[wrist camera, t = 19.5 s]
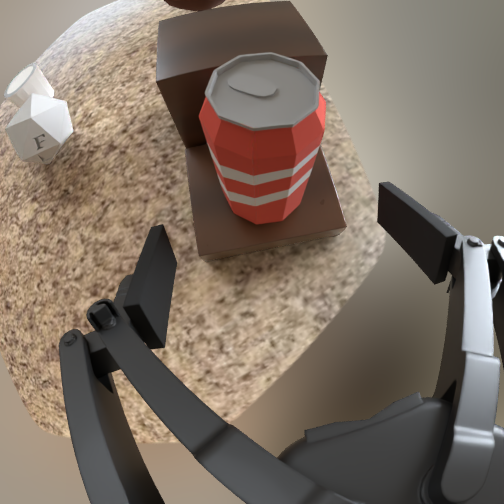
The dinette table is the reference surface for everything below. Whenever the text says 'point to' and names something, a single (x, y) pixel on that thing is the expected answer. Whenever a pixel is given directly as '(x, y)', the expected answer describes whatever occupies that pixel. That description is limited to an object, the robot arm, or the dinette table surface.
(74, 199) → the dinette table surface
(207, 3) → the ice cream bowl
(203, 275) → the dinette table surface
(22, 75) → the shot glass
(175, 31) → the wooden l-shaped step
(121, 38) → the dinette table surface
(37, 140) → the die
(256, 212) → the beverage can
